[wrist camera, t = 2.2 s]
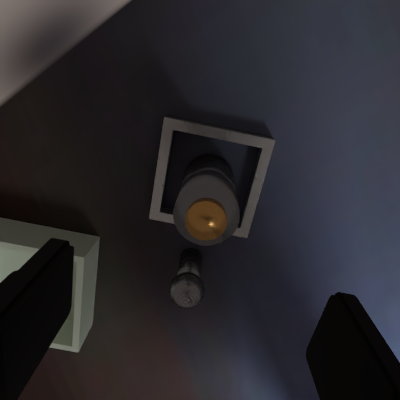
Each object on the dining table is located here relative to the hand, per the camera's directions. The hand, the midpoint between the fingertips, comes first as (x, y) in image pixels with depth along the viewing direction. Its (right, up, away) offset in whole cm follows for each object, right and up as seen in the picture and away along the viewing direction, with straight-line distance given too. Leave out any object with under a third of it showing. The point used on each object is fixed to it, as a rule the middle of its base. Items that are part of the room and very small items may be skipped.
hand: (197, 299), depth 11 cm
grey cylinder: (+1, +5, +15) cm, 16 cm away
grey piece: (0, +3, +16) cm, 16 cm away
